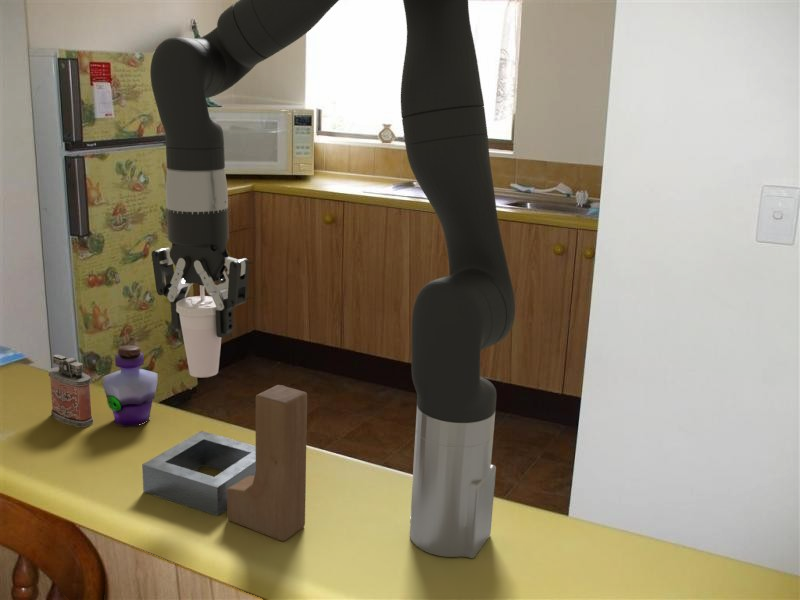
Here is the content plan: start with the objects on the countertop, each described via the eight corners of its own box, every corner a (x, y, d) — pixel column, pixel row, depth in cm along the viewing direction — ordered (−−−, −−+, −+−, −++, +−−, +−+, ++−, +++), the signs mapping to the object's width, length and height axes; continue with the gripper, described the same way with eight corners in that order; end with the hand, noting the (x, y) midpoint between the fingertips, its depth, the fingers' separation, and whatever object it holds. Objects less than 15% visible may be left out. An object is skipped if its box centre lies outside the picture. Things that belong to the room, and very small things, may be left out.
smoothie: (234, 366, 115) (231, 265, 111) (219, 382, 109) (216, 276, 105) (188, 363, 115) (184, 262, 112) (171, 379, 109) (166, 273, 106)
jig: (271, 476, 117) (271, 450, 116) (217, 516, 106) (217, 487, 105) (201, 456, 122) (201, 430, 120) (143, 492, 111) (142, 464, 110)
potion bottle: (93, 428, 129) (88, 354, 125) (118, 406, 137) (114, 336, 134) (147, 433, 128) (144, 359, 125) (169, 411, 136) (167, 340, 133)
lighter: (98, 422, 131) (95, 361, 128) (80, 429, 128) (76, 367, 126) (64, 409, 135) (60, 349, 132) (46, 415, 132) (41, 355, 130)
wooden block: (226, 520, 105) (224, 385, 100) (249, 505, 109) (249, 374, 104) (283, 543, 101) (285, 403, 96) (306, 526, 105) (308, 391, 100)
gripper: (262, 205, 106) (264, 333, 111) (172, 196, 112) (178, 317, 117) (225, 214, 100) (229, 348, 104) (132, 203, 106) (139, 331, 110)
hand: (202, 331), depth 110 cm, fingers closed on smoothie, 6 cm apart
